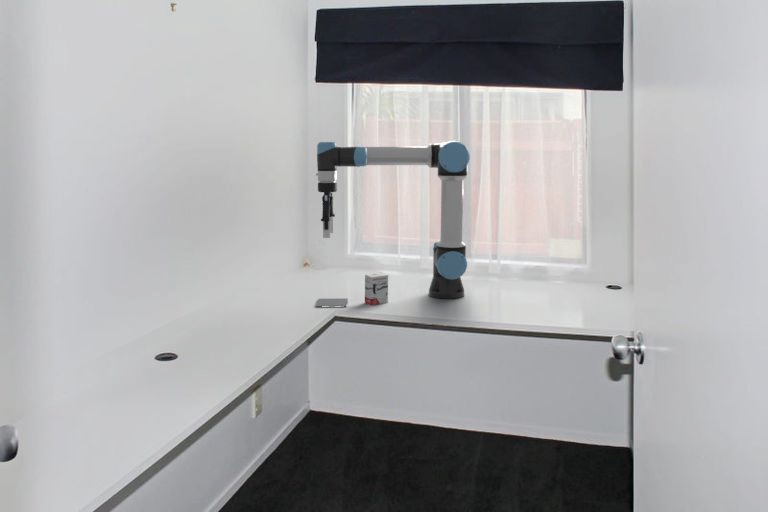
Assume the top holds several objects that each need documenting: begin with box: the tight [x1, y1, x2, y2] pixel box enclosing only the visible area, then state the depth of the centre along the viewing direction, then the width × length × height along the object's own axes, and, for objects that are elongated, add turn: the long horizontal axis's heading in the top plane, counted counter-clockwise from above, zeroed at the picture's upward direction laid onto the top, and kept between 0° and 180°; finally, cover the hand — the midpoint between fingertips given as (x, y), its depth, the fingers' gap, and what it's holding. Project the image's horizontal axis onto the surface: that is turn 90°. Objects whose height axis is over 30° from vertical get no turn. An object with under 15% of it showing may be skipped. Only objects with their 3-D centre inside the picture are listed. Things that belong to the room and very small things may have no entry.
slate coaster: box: [315, 298, 349, 308], centre depth 249 cm, size 12×12×1 cm
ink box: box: [364, 272, 389, 306], centre depth 249 cm, size 8×5×12 cm, turn 123°
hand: (328, 235), depth 245 cm, fingers open, 13 cm apart
